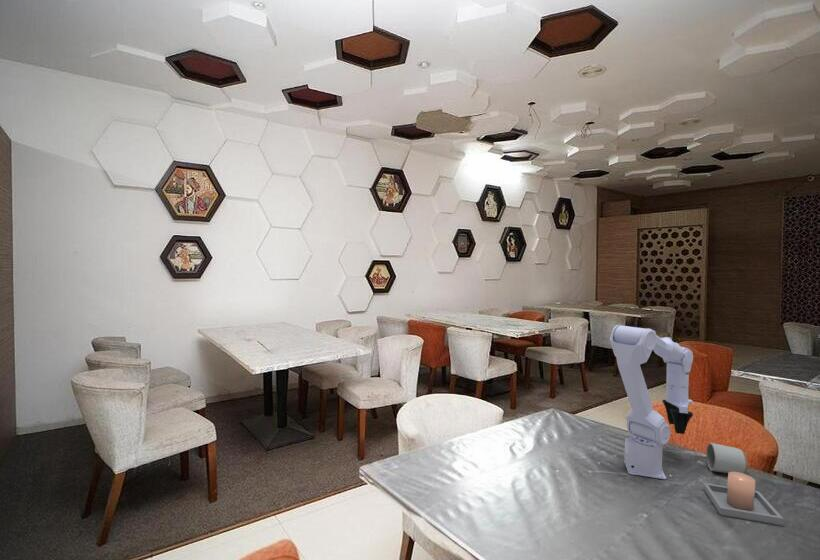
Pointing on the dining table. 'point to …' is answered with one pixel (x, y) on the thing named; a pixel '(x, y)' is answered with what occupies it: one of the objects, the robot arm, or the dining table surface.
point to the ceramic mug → (726, 459)
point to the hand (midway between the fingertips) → (676, 428)
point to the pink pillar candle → (741, 491)
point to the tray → (760, 513)
